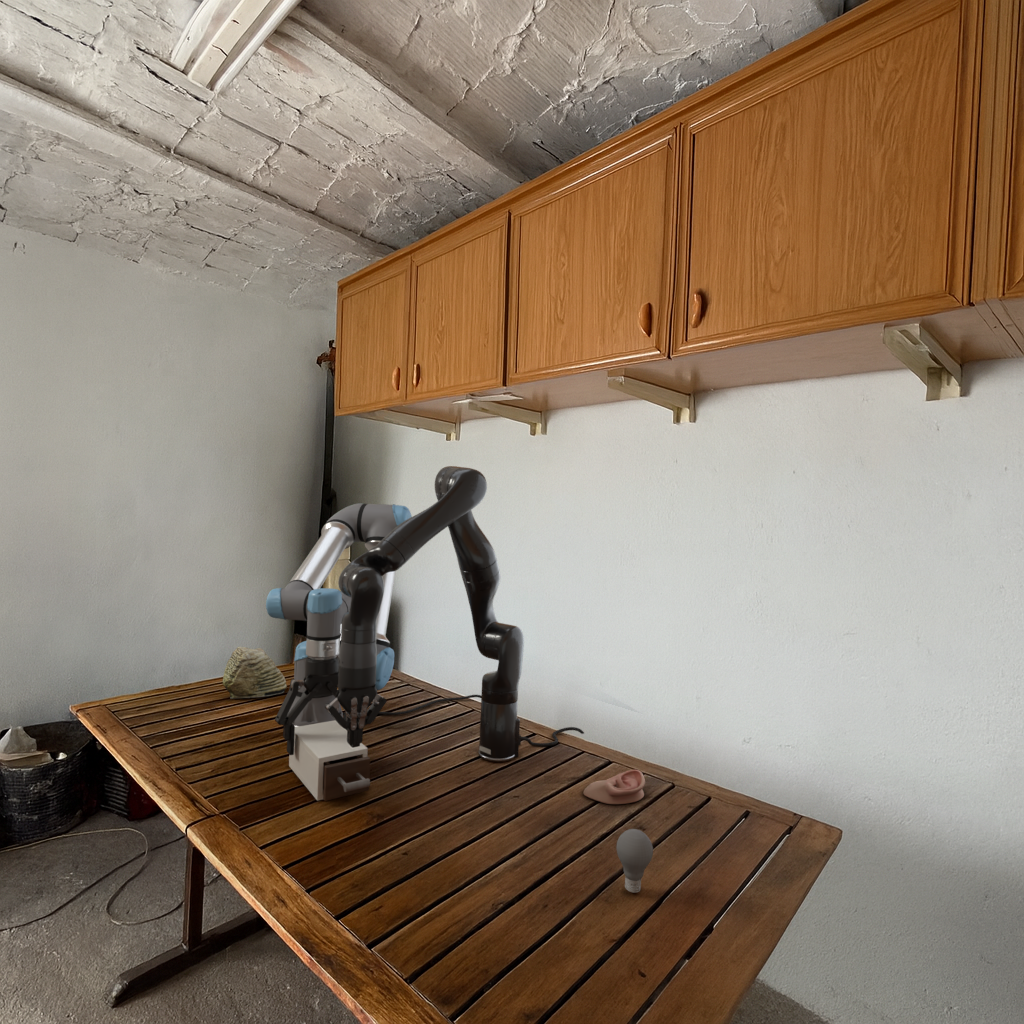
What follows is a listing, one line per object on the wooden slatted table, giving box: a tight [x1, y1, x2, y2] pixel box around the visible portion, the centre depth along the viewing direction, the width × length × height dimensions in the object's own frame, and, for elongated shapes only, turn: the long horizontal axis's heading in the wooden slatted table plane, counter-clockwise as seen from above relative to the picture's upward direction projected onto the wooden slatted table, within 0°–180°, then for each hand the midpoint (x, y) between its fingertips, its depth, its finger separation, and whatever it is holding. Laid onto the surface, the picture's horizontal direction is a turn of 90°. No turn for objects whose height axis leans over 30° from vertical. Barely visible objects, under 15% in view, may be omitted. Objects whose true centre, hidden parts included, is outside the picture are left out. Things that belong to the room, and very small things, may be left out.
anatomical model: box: [582, 769, 646, 805], centre depth 141 cm, size 13×4×12 cm
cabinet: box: [288, 720, 369, 802], centre depth 143 cm, size 20×11×9 cm, turn 36°
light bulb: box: [615, 828, 654, 894], centre depth 106 cm, size 6×6×10 cm
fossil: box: [222, 646, 288, 699], centre depth 198 cm, size 9×18×15 cm, turn 132°
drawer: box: [323, 755, 371, 802], centre depth 138 cm, size 24×10×7 cm, turn 36°
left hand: (319, 747), depth 147 cm, fingers open, 12 cm apart
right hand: (354, 745), depth 130 cm, fingers closed
